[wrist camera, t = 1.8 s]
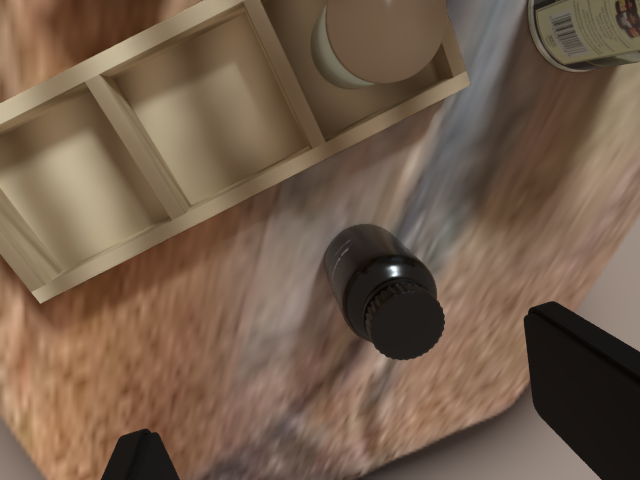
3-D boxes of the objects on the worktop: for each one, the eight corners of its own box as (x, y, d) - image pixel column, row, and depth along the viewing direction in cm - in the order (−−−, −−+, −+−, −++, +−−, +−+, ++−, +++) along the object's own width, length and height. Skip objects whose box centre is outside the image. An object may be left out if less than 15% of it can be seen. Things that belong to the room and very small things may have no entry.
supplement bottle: (315, 232, 35) (344, 287, 24) (393, 214, 35) (457, 260, 24) (330, 304, 37) (363, 386, 26) (403, 286, 38) (467, 359, 26)
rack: (385, -82, 29) (406, -114, 25) (447, 94, 33) (473, 91, 29) (-45, 136, 29) (-93, 139, 25) (70, 286, 33) (44, 309, 29)
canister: (373, -20, 29) (421, -78, 21) (406, 68, 31) (463, 50, 23) (292, 21, 29) (307, -20, 20) (330, 107, 31) (358, 103, 23)
